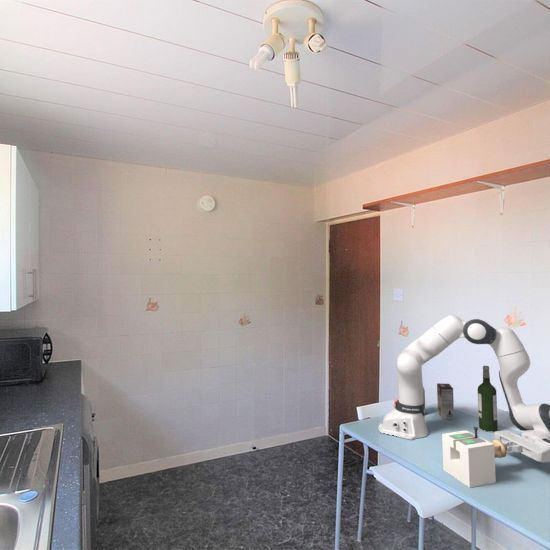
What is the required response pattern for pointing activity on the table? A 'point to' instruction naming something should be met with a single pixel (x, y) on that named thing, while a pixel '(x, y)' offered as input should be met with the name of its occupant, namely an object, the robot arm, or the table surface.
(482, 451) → the tuner housing
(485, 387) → the wine bottle
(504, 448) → the peg
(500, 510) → the table surface
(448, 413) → the coffee box
